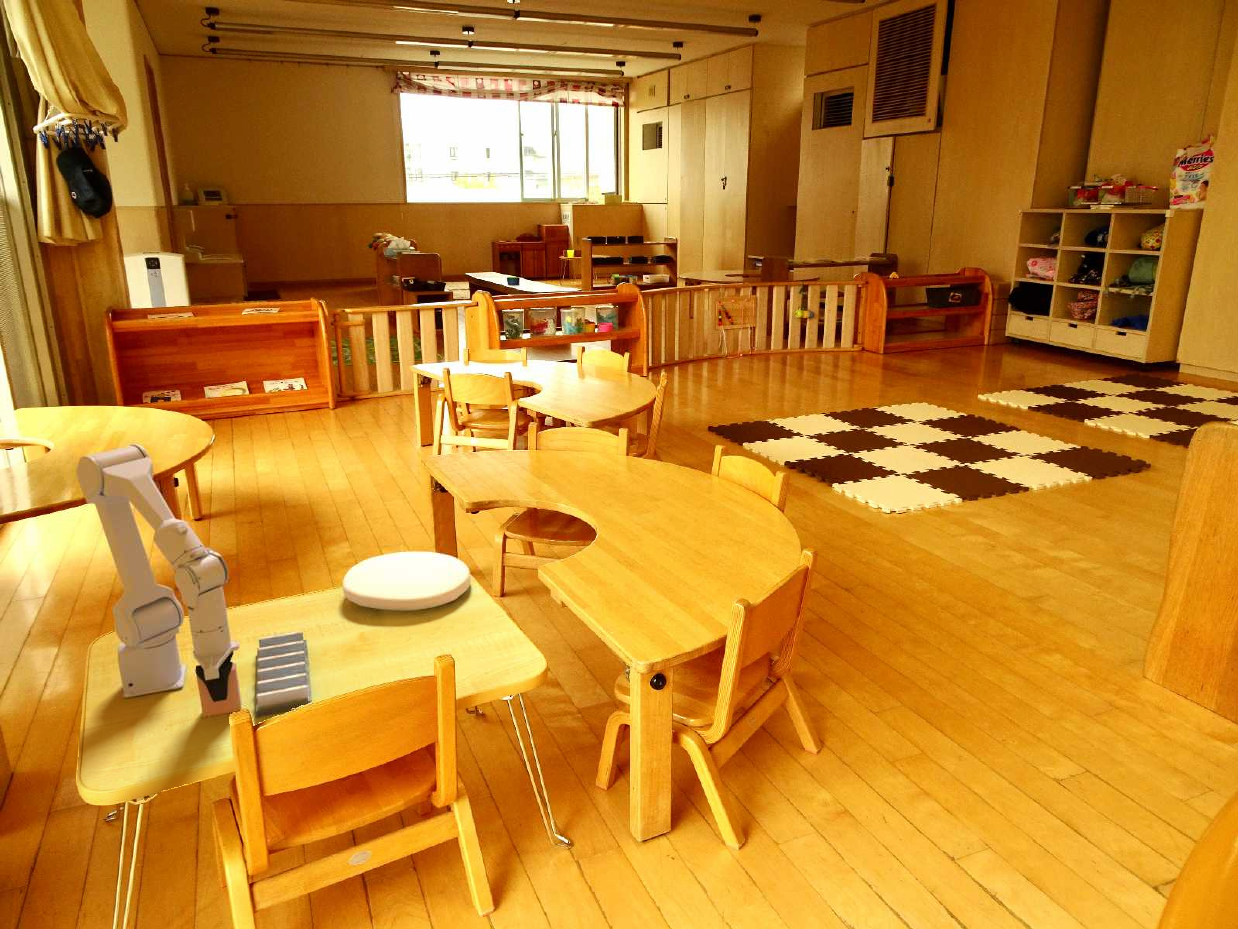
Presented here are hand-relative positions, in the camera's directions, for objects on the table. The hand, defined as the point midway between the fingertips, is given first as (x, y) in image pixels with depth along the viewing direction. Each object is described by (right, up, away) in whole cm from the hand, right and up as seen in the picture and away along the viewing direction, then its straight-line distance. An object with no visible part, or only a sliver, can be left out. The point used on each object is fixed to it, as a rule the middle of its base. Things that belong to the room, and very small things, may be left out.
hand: (220, 695), depth 146 cm
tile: (0, -3, +1) cm, 3 cm away
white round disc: (+21, +11, +46) cm, 52 cm away
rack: (+7, 0, +11) cm, 13 cm away
